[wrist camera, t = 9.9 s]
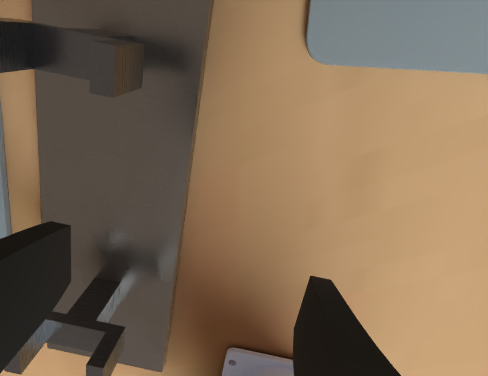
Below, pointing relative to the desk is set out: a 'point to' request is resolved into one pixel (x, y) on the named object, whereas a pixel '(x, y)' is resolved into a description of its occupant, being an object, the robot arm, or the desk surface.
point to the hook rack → (113, 164)
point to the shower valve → (400, 34)
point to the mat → (3, 190)
